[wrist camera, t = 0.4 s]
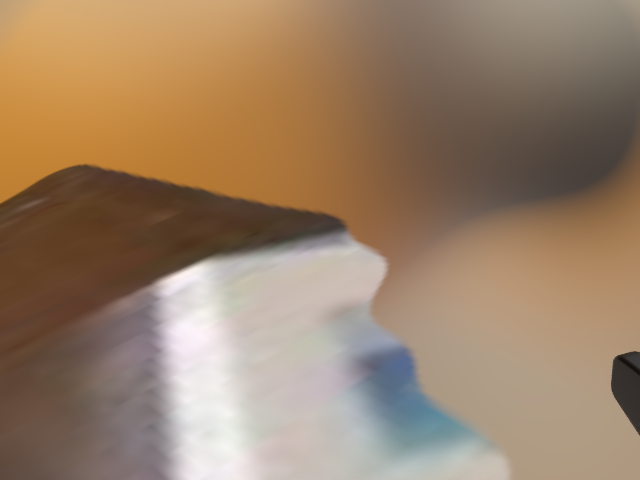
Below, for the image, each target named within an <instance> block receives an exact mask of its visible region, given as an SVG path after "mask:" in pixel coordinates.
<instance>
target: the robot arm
mask: <svg viewBox="0 0 640 480" xmlns="http://www.w3.org/2000/svg"><path fill="white" fill-rule="evenodd" d="M611 388H612V392H613V395H614V397H615V399H616V400H617V402H618V403H619V405H620V406H621V408H622V409H623V411H624V413H625V414H626V415H627V417H628V418H629V420H630V422H631V423H632V425H633V426H634V427H635V429H636V431H637V432H638V434H639V435H640V352H636V351H634V352H629V353H625V354H621V355H618V356H616V357H615V358H614V360H613V369H612V380H611Z"/></svg>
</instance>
